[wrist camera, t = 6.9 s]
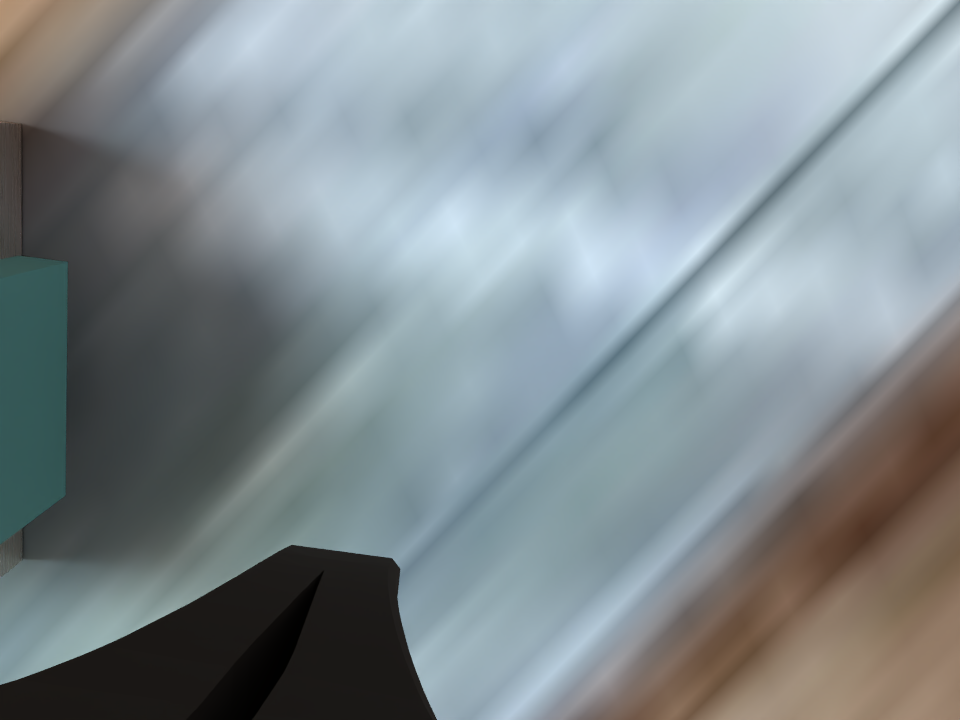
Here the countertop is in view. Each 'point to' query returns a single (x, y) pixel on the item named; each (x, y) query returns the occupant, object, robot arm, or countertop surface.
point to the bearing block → (4, 241)
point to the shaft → (32, 388)
